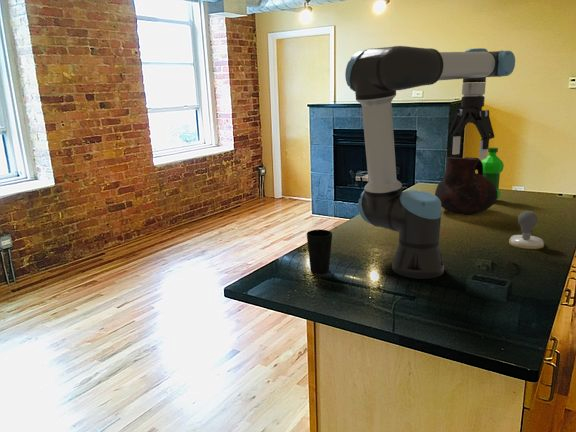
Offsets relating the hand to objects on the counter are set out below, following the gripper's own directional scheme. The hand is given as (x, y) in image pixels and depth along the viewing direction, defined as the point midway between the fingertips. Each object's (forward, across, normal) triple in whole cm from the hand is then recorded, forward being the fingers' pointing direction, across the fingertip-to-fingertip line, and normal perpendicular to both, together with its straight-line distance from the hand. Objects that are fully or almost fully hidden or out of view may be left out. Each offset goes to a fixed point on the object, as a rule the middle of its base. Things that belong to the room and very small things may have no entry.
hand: (468, 156), depth 171 cm
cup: (+29, -12, +65) cm, 72 cm away
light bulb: (+27, -20, -10) cm, 35 cm away
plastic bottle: (+29, +35, -46) cm, 65 cm away
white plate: (+29, -20, -10) cm, 36 cm away
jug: (+29, +23, -21) cm, 43 cm away
